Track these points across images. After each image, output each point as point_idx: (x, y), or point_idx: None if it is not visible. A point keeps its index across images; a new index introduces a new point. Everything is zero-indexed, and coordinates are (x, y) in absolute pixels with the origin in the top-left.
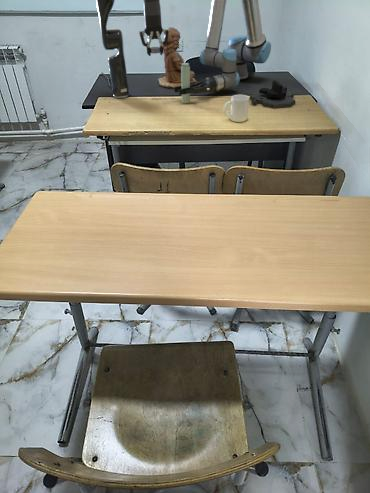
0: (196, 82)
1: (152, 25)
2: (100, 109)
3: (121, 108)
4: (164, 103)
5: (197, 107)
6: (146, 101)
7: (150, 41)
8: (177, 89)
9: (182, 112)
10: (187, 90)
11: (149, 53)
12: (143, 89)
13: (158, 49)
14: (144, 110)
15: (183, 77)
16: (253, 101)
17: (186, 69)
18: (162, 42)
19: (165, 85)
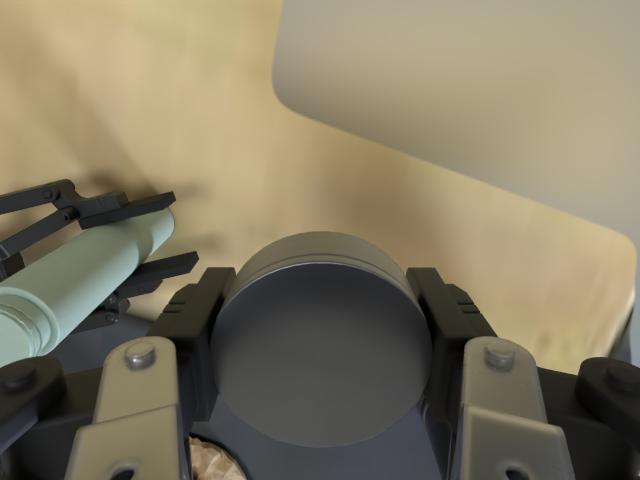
0: None
1: None
2: (621, 262)
3: (515, 241)
4: (273, 240)
5: (91, 110)
6: None
7: (484, 413)
8: (171, 261)
9: (193, 52)
10: (104, 196)
11: (438, 280)
12: (336, 459)
13: (262, 269)
14: (405, 167)
15: (85, 262)
16: None
17: (15, 281)
18: (99, 394)
19: (224, 458)
